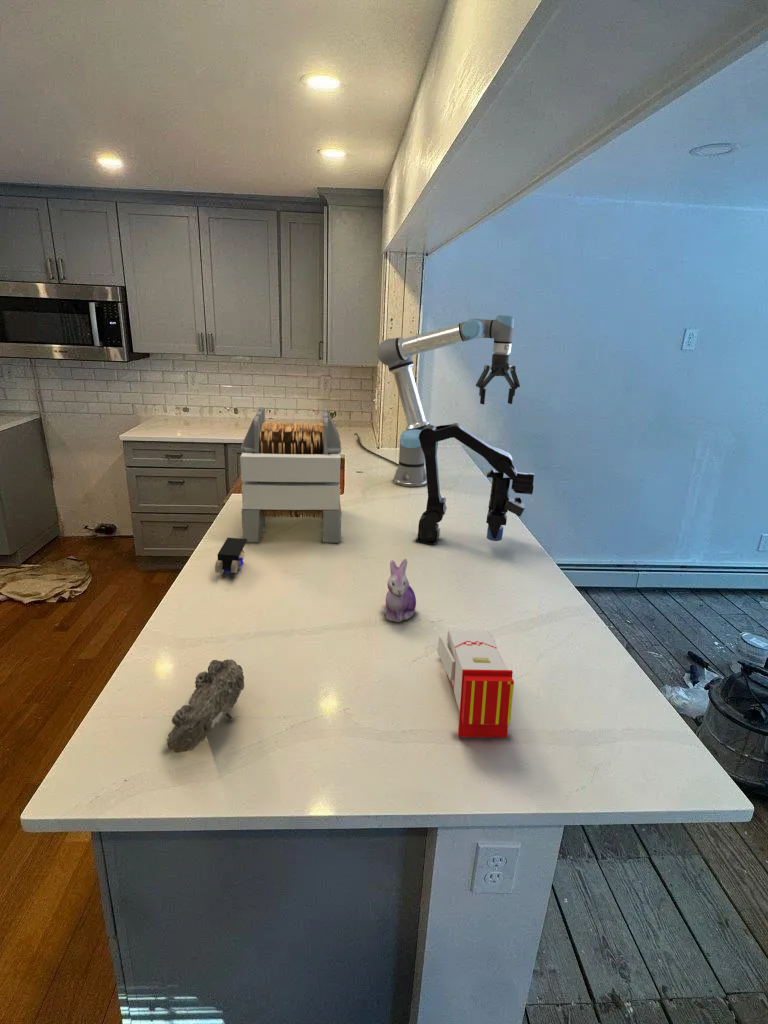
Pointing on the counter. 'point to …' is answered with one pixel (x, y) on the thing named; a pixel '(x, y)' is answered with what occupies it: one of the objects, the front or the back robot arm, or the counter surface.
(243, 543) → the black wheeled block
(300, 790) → the counter surface
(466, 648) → the toy
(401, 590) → the figurine
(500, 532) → the cylinder
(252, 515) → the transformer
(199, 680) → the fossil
